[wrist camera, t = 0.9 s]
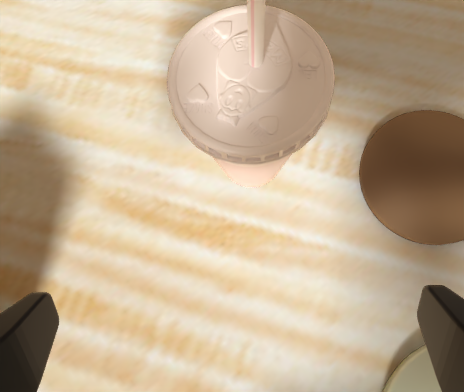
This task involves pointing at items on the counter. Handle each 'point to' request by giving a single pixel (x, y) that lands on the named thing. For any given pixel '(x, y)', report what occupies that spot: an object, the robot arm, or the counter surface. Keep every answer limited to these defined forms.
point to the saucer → (414, 374)
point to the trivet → (417, 176)
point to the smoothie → (251, 88)
